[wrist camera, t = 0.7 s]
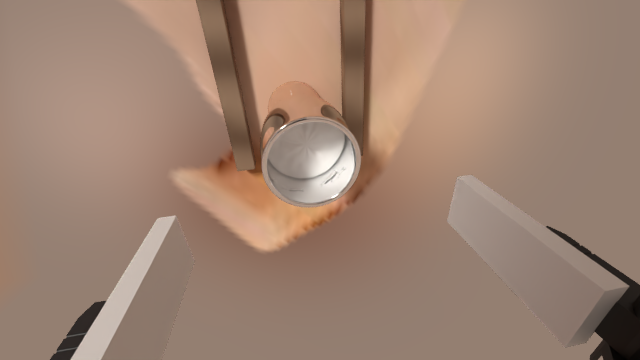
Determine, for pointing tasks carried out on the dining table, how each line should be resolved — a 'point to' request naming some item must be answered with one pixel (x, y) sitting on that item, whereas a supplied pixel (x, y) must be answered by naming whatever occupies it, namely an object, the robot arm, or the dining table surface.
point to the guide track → (229, 82)
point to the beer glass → (307, 148)
